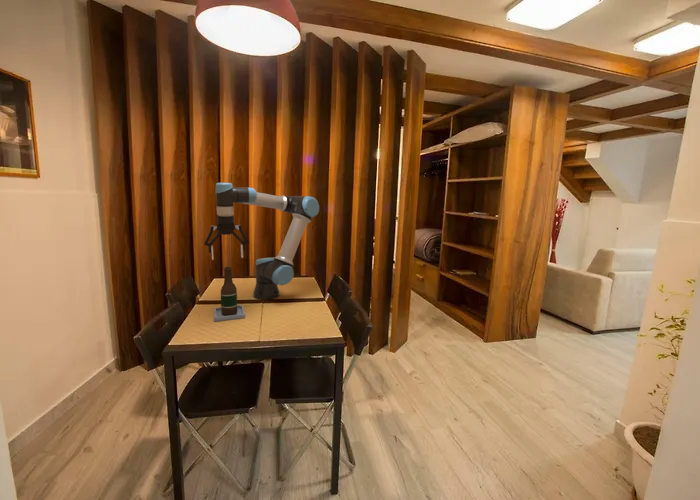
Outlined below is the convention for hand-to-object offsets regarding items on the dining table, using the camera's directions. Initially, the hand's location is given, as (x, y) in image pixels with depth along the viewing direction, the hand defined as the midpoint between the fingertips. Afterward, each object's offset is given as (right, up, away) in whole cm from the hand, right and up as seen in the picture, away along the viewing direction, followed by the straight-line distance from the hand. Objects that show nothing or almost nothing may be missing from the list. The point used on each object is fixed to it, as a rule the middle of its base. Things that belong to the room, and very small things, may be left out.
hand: (227, 258), depth 154 cm
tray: (-1, -29, +4) cm, 29 cm away
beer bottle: (-1, -28, +4) cm, 29 cm away
